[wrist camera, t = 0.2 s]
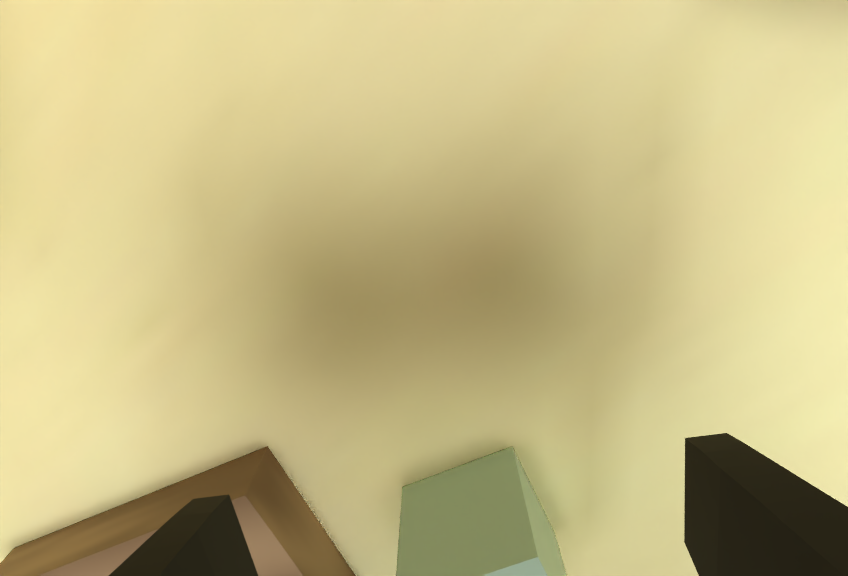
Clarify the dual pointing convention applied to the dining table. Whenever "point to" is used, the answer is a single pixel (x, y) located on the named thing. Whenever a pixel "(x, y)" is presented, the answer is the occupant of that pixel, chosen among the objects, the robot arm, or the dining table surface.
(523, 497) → the sage block
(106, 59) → the dining table surface
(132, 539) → the walnut box
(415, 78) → the dining table surface
